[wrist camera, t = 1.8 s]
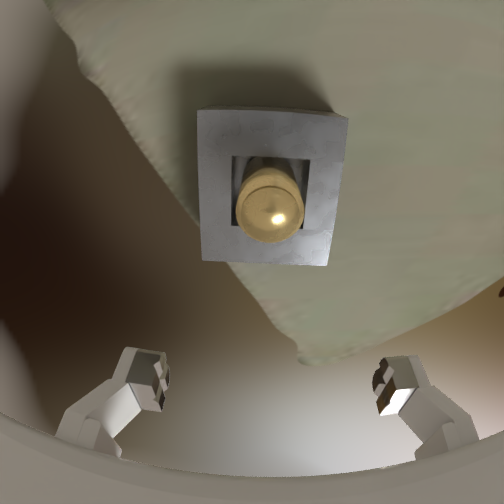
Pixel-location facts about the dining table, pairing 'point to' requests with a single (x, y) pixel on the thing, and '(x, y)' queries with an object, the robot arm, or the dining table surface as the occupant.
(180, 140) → the dining table surface
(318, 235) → the housing
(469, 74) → the dining table surface
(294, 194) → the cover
